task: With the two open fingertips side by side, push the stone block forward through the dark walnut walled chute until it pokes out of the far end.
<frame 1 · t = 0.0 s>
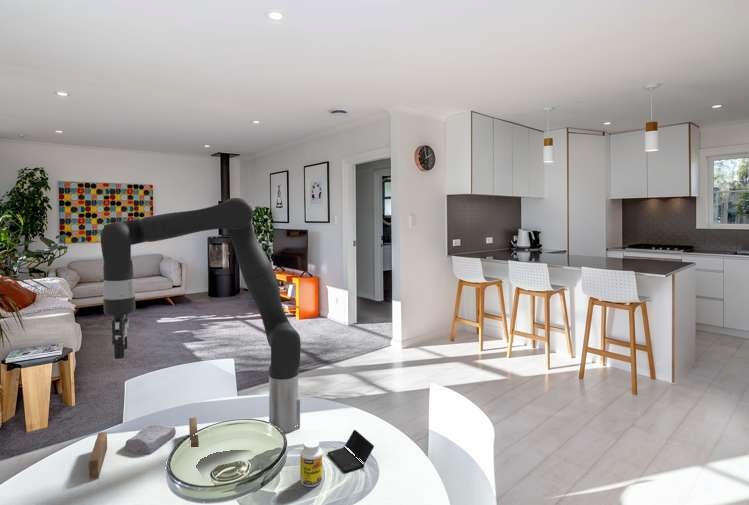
hand: (121, 353, 123), 29 cm above the table, tool pointing down, fingers open, 8 cm apart
walnut chute: (148, 454, 126), on the table
handheld gaming console: (350, 460, 125), on the table
stone block: (150, 444, 132), on the table
supplement bottle: (311, 482, 115), on the table
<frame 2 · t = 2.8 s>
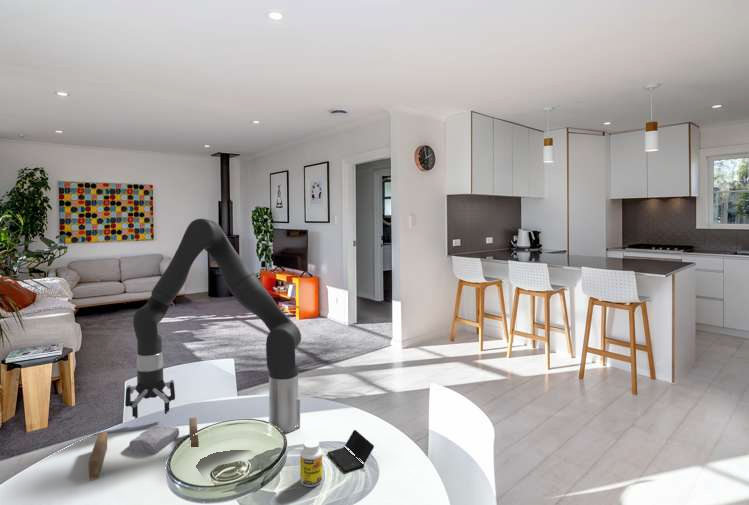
hand: (151, 415, 144), 3 cm above the table, tool pointing down, fingers open, 8 cm apart
stone block: (153, 444, 132), on the table
everything else where it was.
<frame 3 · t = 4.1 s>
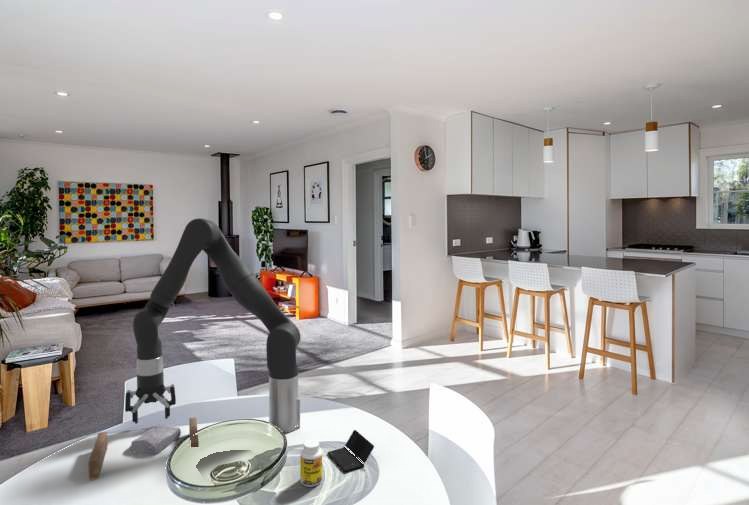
hand: (151, 420, 142), 2 cm above the table, tool pointing down, fingers open, 8 cm apart
nothing on the table moved.
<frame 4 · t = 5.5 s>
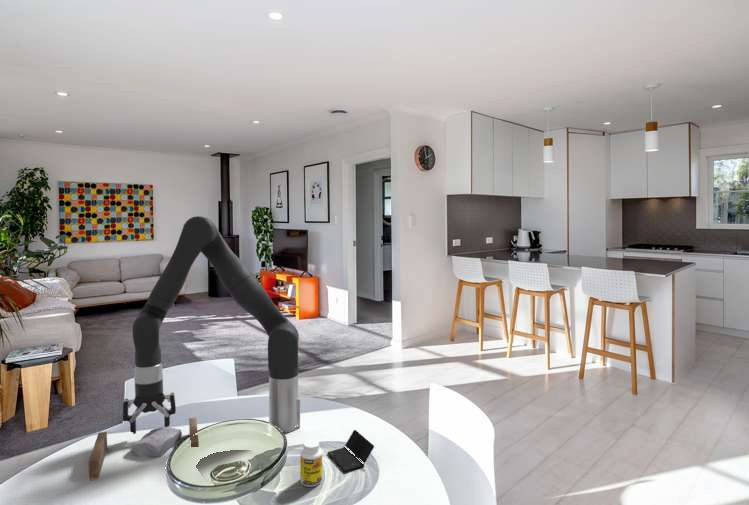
hand: (150, 430, 135), 2 cm above the table, tool pointing down, fingers open, 8 cm apart
stone block: (156, 447, 130), on the table, touching gripper
everything else where it was.
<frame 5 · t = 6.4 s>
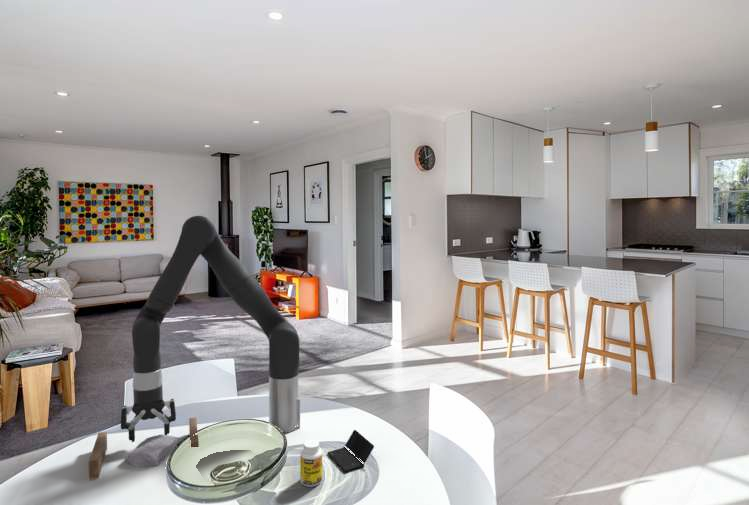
hand: (149, 437, 130), 2 cm above the table, tool pointing down, fingers open, 8 cm apart
stone block: (152, 456, 126), on the table
everything else where it was.
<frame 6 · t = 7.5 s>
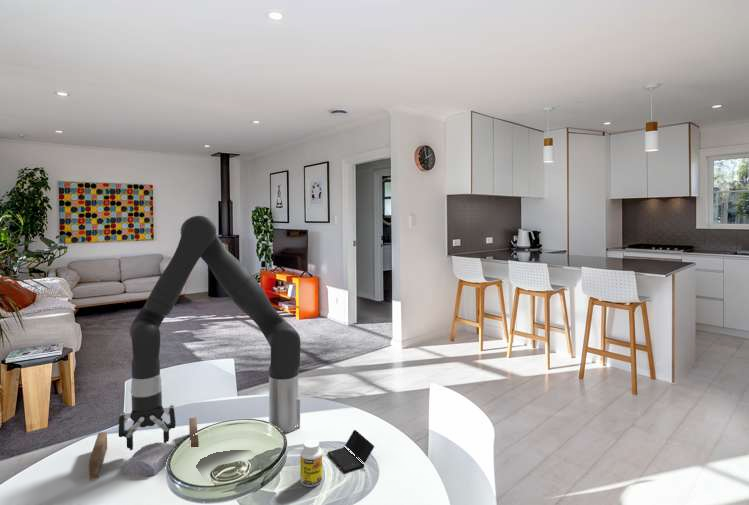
hand: (148, 445, 126), 2 cm above the table, tool pointing down, fingers open, 8 cm apart
stone block: (149, 465, 122), on the table, touching gripper
everything else where it was.
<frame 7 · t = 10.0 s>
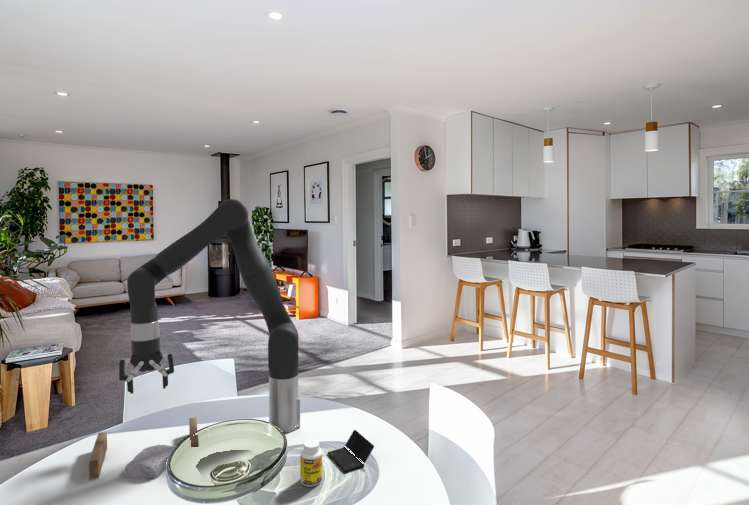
hand: (148, 390, 131), 16 cm above the table, tool pointing down, fingers open, 8 cm apart
stone block: (150, 467, 120), on the table
everything else where it was.
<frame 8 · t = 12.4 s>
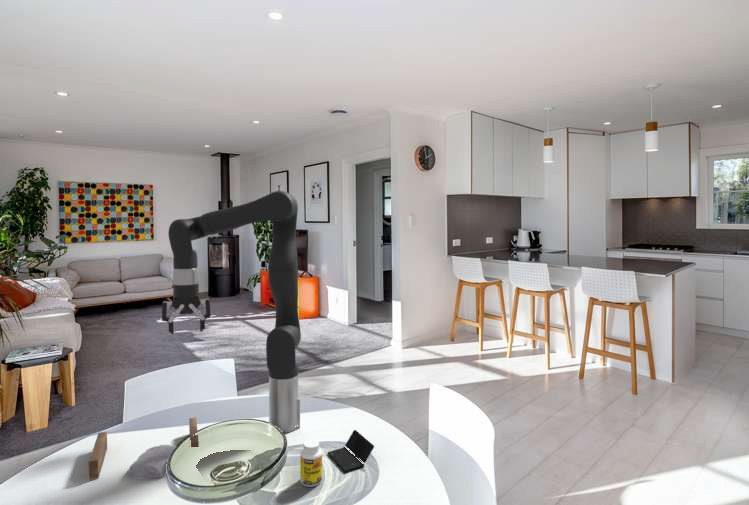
hand: (187, 332, 142), 30 cm above the table, tool pointing down, fingers open, 8 cm apart
stone block: (154, 467, 120), on the table
everything else where it was.
at the end: stone block inside the target area (3.0 cm from its centre), on the table; stone block moved 14.4 cm from its start; stone block tilted 0° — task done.
